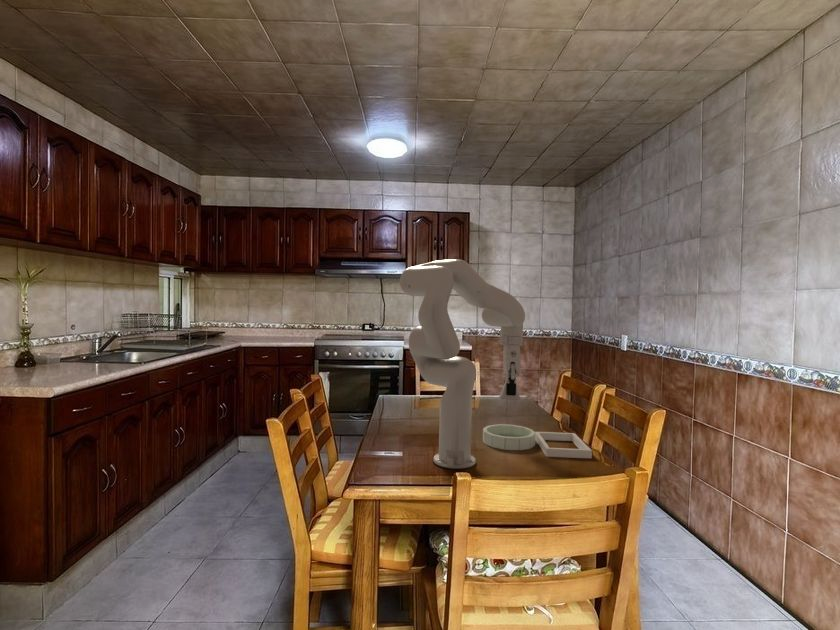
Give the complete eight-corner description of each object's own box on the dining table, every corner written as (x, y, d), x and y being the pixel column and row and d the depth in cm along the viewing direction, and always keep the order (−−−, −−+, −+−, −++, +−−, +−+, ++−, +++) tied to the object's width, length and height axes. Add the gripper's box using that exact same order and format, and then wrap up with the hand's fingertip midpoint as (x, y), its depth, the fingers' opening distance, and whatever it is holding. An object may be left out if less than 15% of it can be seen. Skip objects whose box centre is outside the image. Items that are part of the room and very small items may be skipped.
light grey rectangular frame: (591, 458, 146) (591, 450, 145) (546, 456, 146) (546, 448, 146) (574, 440, 165) (574, 433, 165) (534, 438, 166) (534, 431, 166)
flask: (520, 401, 156) (521, 371, 156) (498, 400, 158) (499, 370, 158) (520, 397, 163) (521, 369, 163) (499, 396, 165) (500, 368, 165)
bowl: (538, 451, 152) (539, 439, 152) (485, 448, 153) (485, 436, 153) (529, 436, 169) (529, 425, 169) (481, 434, 170) (481, 423, 170)
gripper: (526, 343, 151) (524, 398, 152) (518, 339, 168) (517, 389, 169) (503, 342, 152) (501, 398, 152) (497, 339, 169) (496, 389, 169)
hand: (509, 393), depth 160 cm, fingers closed on flask, 4 cm apart
